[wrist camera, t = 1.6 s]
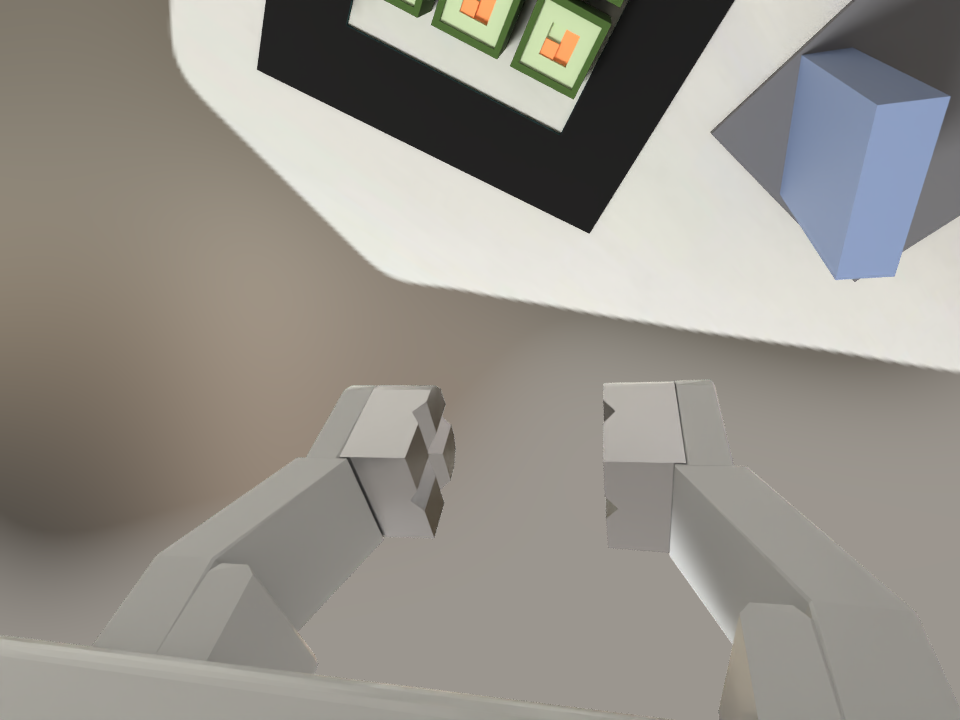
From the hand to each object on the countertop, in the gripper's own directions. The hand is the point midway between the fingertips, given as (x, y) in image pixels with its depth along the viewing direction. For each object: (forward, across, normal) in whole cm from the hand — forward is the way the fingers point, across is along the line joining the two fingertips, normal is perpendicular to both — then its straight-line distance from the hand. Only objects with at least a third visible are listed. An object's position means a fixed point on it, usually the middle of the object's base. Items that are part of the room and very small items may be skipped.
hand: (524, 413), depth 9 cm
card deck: (+31, -13, +6) cm, 34 cm away
